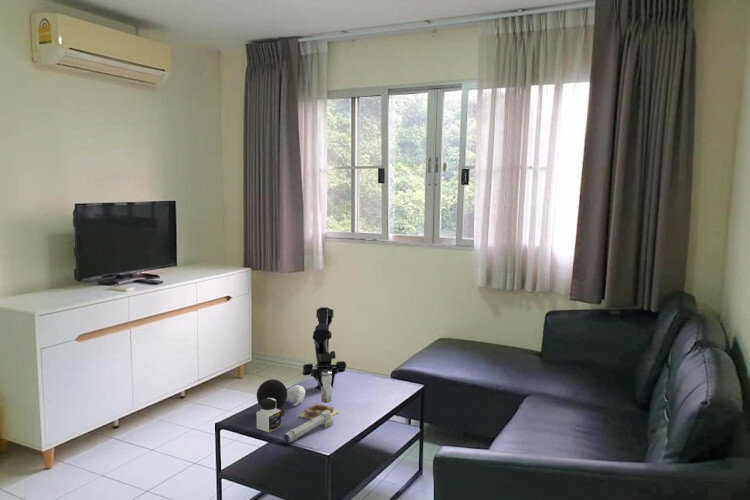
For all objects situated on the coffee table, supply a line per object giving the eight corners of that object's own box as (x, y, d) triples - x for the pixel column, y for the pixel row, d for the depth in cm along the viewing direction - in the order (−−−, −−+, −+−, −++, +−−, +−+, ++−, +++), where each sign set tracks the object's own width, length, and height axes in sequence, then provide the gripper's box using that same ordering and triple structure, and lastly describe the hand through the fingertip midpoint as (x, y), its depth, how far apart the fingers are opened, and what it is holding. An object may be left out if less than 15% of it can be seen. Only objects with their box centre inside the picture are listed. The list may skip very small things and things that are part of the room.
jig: (299, 416, 233) (299, 410, 233) (316, 407, 243) (316, 401, 243) (321, 423, 227) (321, 416, 227) (338, 413, 237) (338, 407, 237)
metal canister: (318, 400, 235) (318, 371, 233) (327, 397, 238) (327, 369, 237) (325, 403, 231) (325, 374, 230) (334, 401, 235) (334, 371, 233)
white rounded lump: (298, 388, 243) (276, 386, 248) (300, 407, 243) (278, 405, 248) (306, 384, 248) (284, 382, 253) (307, 402, 249) (286, 400, 254)
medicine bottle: (269, 433, 217) (268, 404, 216) (256, 428, 221) (255, 400, 220) (281, 426, 223) (281, 398, 222) (268, 422, 227) (268, 395, 226)
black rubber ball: (293, 412, 238) (293, 379, 236) (271, 422, 227) (270, 387, 226) (273, 405, 246) (272, 373, 244) (250, 414, 235) (250, 381, 234)
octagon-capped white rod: (280, 432, 209) (326, 405, 228) (282, 447, 211) (328, 419, 229) (289, 436, 206) (335, 408, 224) (291, 451, 207) (337, 422, 226)
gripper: (303, 346, 233) (307, 379, 224) (345, 343, 238) (351, 375, 229) (300, 358, 242) (304, 391, 232) (341, 355, 247) (346, 387, 238)
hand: (326, 386), depth 233 cm, fingers closed on metal canister, 5 cm apart
